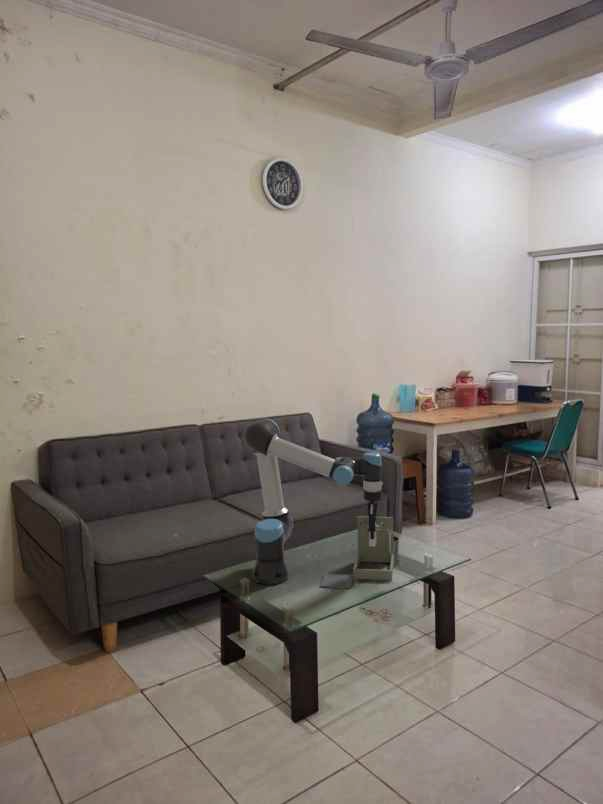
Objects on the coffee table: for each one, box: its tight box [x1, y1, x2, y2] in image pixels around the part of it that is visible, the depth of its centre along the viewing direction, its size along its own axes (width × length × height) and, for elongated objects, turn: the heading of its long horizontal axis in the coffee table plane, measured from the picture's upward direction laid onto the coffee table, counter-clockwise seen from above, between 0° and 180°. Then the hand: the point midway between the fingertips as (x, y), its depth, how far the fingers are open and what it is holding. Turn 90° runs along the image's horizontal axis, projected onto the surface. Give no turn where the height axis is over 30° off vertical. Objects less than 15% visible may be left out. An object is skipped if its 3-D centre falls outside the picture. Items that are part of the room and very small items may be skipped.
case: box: [352, 515, 395, 581], centre depth 248 cm, size 16×20×20 cm
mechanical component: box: [360, 521, 385, 532], centre depth 247 cm, size 3×10×10 cm, turn 78°
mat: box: [319, 573, 354, 589], centre depth 239 cm, size 12×12×1 cm
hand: (372, 544), depth 248 cm, fingers closed on mechanical component, 3 cm apart
